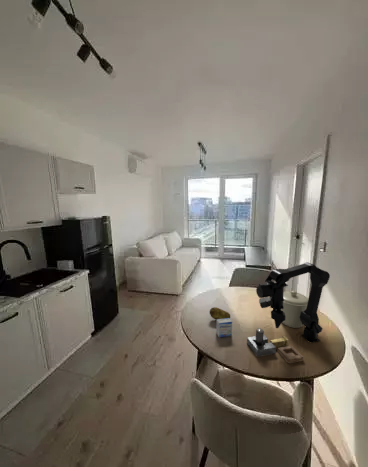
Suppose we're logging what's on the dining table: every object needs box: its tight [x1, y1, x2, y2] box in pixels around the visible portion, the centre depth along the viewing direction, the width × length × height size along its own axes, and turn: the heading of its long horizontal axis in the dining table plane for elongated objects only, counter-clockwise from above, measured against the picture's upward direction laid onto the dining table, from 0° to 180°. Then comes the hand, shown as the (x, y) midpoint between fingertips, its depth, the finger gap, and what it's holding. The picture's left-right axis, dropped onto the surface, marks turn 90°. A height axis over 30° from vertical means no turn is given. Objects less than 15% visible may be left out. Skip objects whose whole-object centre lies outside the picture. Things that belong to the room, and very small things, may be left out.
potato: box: [209, 306, 231, 321], centre depth 134 cm, size 8×13×8 cm, turn 72°
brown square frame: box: [277, 345, 304, 364], centre depth 104 cm, size 8×8×2 cm
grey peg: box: [255, 327, 265, 346], centre depth 108 cm, size 4×4×11 cm
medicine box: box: [215, 317, 233, 338], centre depth 120 cm, size 8×4×9 cm, turn 101°
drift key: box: [269, 335, 290, 348], centre depth 111 cm, size 9×3×4 cm, turn 102°
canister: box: [281, 290, 309, 329], centre depth 129 cm, size 18×18×21 cm
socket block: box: [246, 334, 277, 358], centre depth 109 cm, size 10×10×4 cm
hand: (276, 322), depth 110 cm, fingers open, 9 cm apart
